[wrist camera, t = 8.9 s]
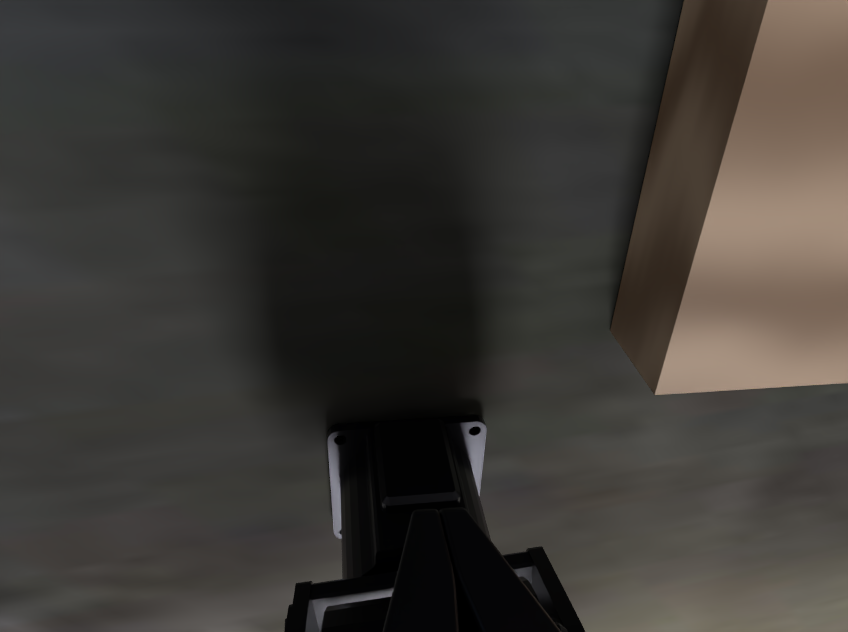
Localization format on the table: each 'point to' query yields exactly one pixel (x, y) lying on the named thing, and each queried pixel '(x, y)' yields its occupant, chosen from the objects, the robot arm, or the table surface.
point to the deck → (744, 204)
